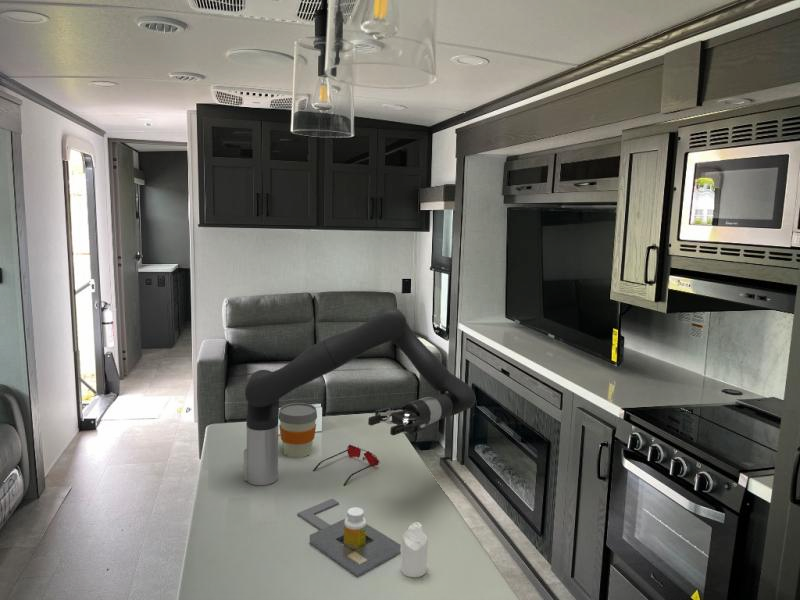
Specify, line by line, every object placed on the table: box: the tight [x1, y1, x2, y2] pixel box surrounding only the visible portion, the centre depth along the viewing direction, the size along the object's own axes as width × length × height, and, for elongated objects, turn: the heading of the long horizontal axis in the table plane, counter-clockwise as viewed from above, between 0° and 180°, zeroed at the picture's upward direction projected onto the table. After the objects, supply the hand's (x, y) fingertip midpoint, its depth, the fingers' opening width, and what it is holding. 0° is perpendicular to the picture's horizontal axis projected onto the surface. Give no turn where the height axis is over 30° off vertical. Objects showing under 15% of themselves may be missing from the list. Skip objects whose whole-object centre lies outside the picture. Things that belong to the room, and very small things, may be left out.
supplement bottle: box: [343, 506, 367, 551], centre depth 149 cm, size 5×5×10 cm
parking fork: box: [296, 498, 340, 531], centre depth 162 cm, size 12×14×1 cm
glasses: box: [312, 444, 381, 487], centre depth 190 cm, size 14×16×5 cm
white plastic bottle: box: [400, 521, 429, 578], centre depth 140 cm, size 6×12×6 cm
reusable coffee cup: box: [278, 402, 318, 459], centre depth 201 cm, size 13×12×15 cm
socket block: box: [309, 518, 402, 578], centre depth 149 cm, size 18×14×2 cm
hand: (380, 426), depth 159 cm, fingers open, 8 cm apart
